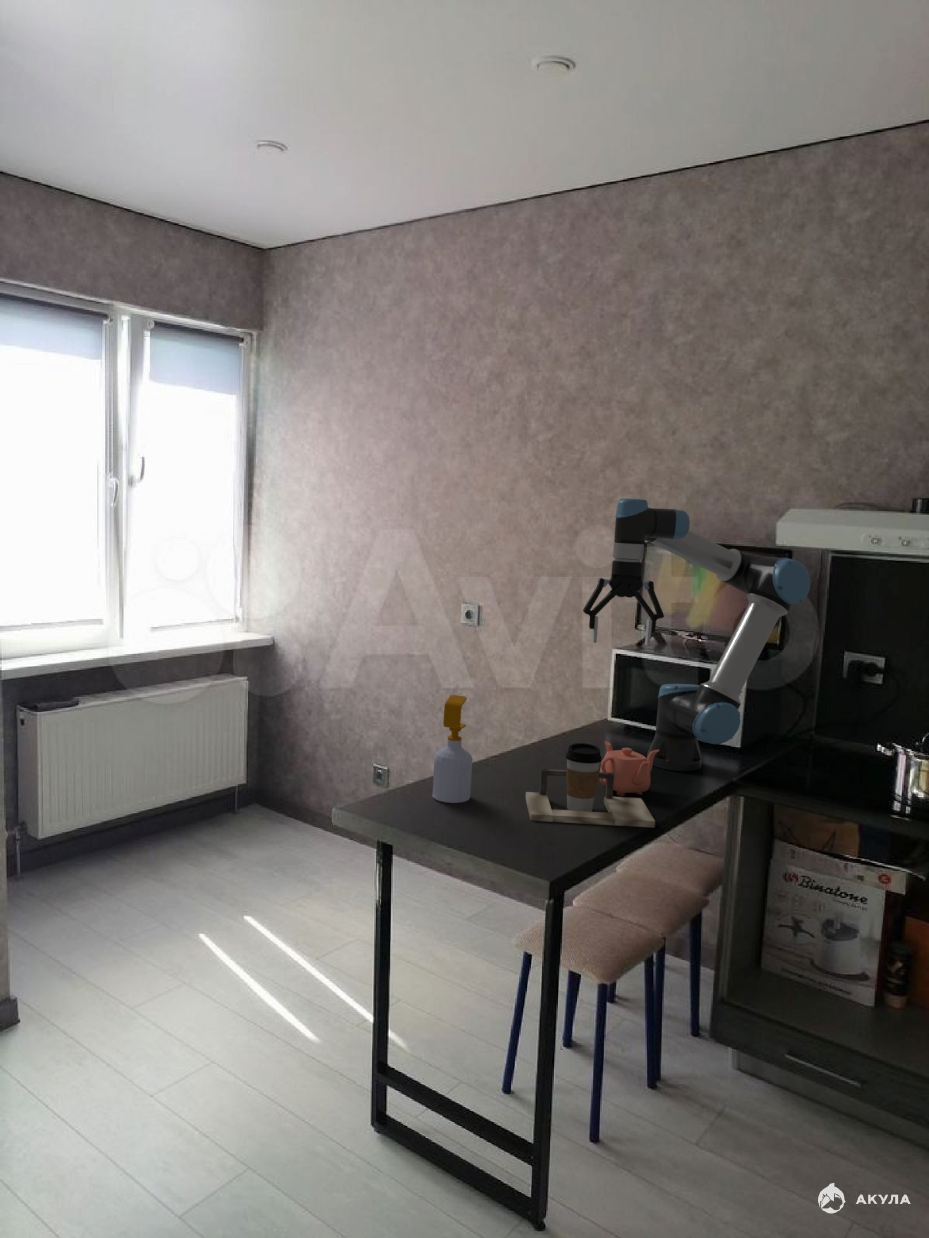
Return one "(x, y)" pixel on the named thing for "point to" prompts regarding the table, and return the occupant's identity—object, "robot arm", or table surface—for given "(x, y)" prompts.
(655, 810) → the table surface
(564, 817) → the cream rectangular frame
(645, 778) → the teapot
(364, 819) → the table surface
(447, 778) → the spray bottle
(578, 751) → the coffee cup
